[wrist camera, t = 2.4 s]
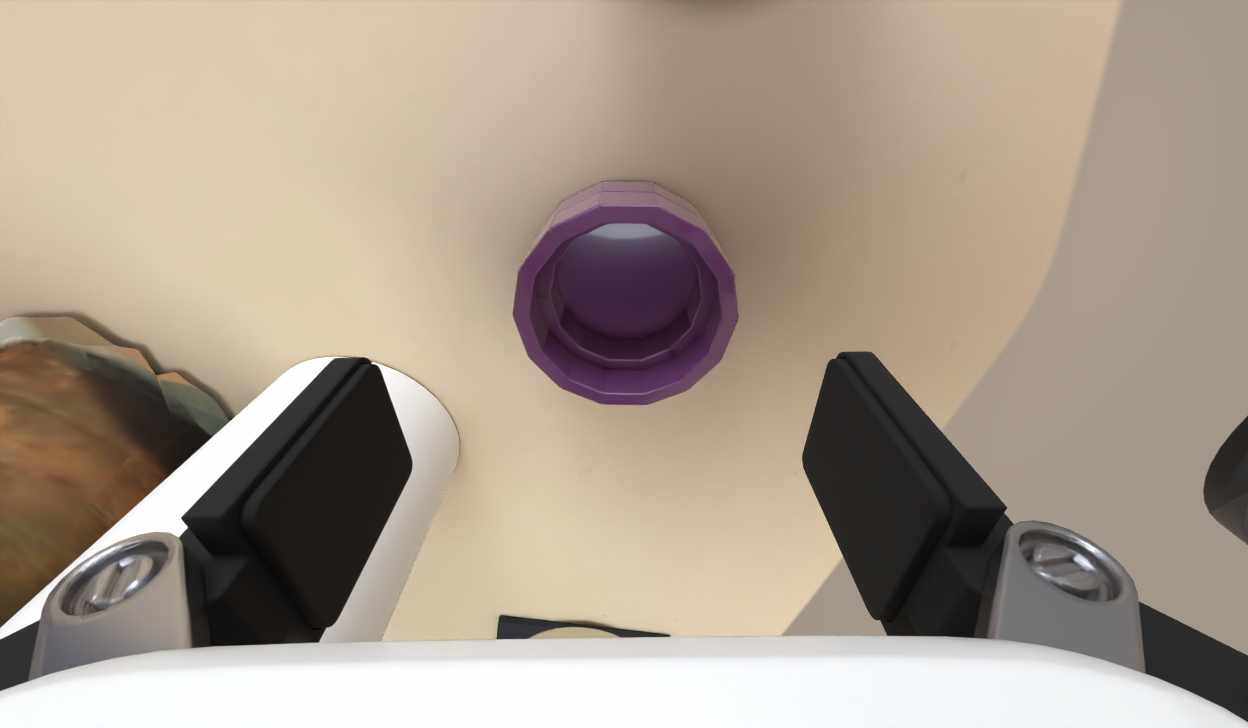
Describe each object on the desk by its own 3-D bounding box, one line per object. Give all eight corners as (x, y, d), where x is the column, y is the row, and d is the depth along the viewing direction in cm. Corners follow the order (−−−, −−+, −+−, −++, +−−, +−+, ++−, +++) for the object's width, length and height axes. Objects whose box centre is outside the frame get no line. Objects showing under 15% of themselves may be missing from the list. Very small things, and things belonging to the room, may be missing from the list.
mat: (500, 611, 29) (498, 619, 28) (672, 631, 30) (672, 639, 30) (486, 739, 40) (485, 746, 39) (612, 750, 41) (612, 757, 40)
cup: (305, 319, 18) (-694, 1110, 4) (493, 423, 21) (239, 1104, 7) (245, 443, 21) (-409, 1094, 8) (413, 518, 24) (140, 1093, 11)
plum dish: (576, 137, 14) (563, 156, 11) (757, 234, 16) (785, 272, 13) (506, 310, 18) (483, 358, 15) (663, 376, 19) (669, 431, 16)
